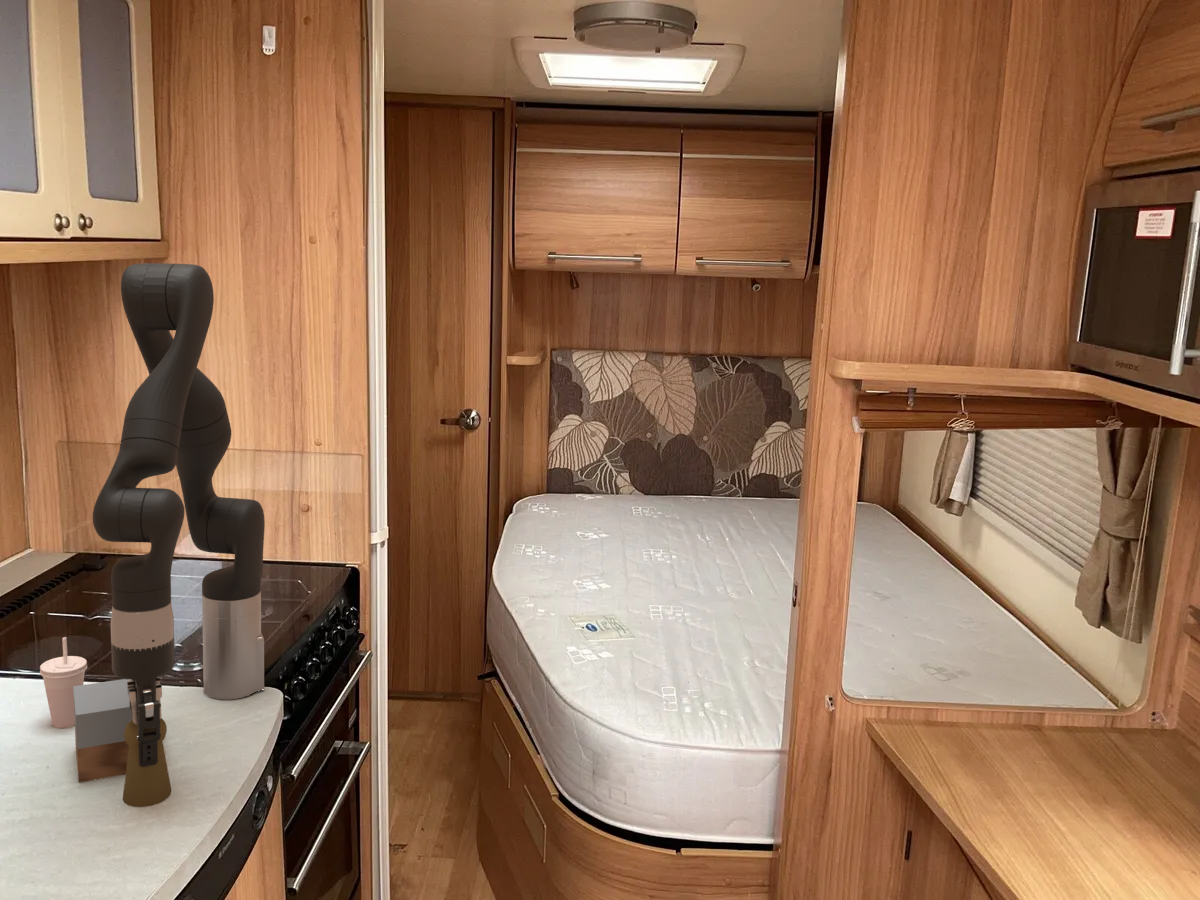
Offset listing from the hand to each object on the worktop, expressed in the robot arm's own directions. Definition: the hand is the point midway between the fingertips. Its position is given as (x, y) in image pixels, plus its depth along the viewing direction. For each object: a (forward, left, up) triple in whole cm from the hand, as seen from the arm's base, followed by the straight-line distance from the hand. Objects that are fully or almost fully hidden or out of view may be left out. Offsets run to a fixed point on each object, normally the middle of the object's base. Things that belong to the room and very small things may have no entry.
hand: (146, 754), depth 131 cm
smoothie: (+9, -27, -6) cm, 29 cm away
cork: (0, 0, -6) cm, 6 cm away
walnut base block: (+3, -12, -6) cm, 14 cm away
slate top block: (+3, -12, -1) cm, 12 cm away
